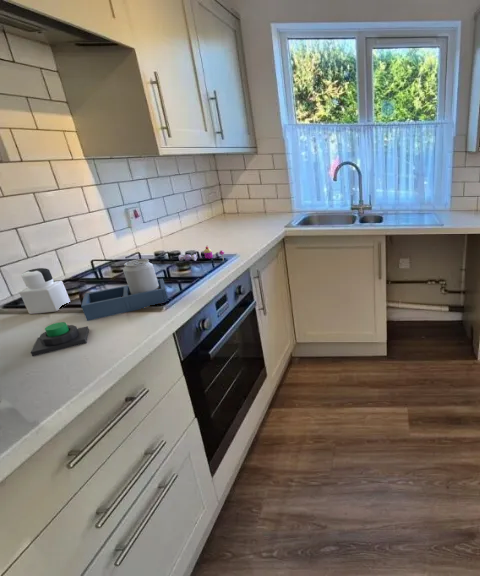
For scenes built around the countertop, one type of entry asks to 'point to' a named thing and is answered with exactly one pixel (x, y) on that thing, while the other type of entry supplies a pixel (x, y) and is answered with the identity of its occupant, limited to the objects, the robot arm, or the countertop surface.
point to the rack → (120, 301)
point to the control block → (60, 340)
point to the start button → (56, 329)
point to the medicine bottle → (42, 292)
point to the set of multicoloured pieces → (188, 257)
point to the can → (140, 276)
